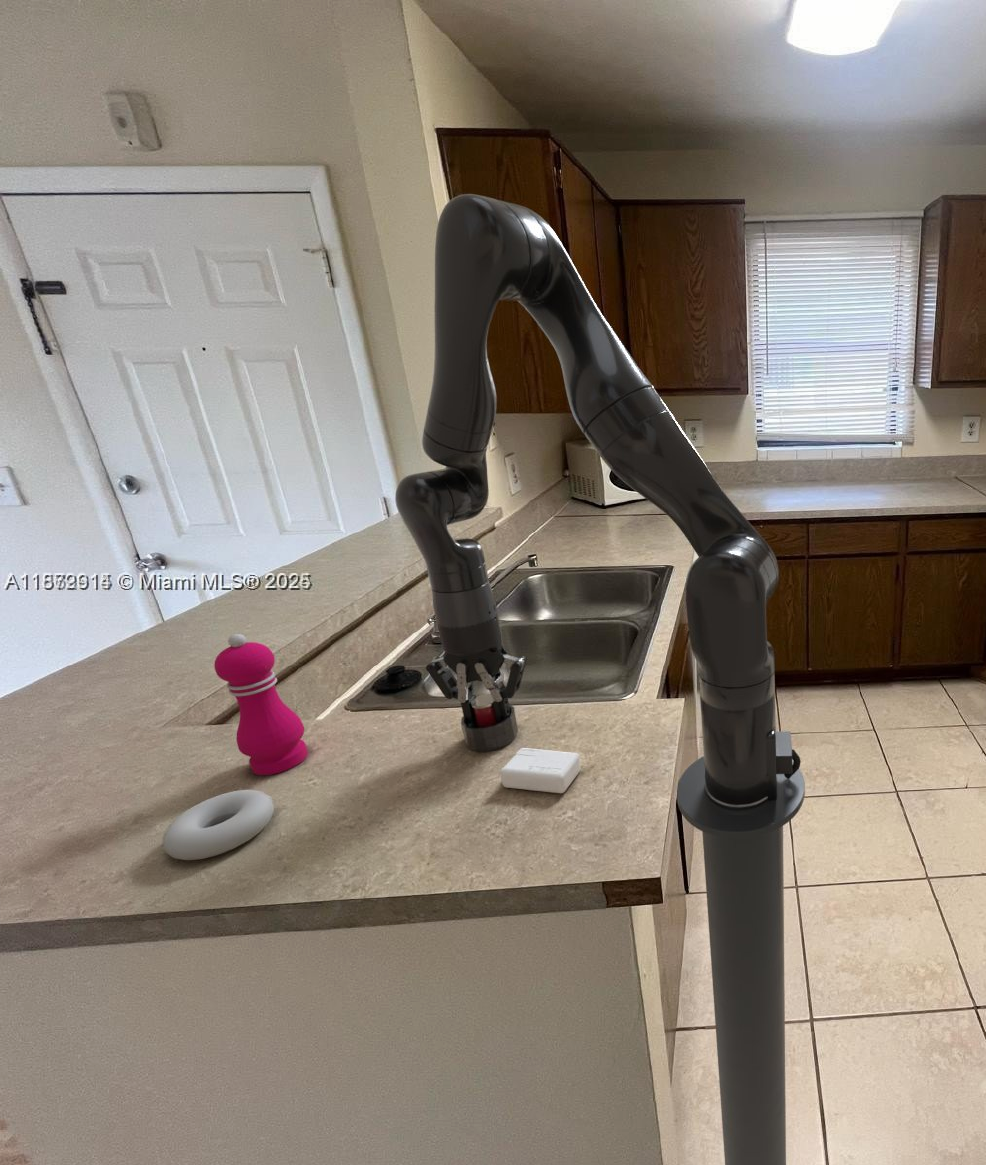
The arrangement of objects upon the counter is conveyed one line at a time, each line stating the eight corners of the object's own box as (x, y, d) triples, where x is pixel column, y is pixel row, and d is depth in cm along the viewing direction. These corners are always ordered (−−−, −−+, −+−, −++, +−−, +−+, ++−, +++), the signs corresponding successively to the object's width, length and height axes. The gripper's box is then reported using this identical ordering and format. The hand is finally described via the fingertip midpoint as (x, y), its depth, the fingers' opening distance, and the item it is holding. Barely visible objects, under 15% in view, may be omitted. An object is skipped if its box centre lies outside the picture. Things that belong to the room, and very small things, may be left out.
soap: (583, 769, 82) (580, 751, 81) (564, 796, 77) (560, 777, 76) (524, 763, 83) (520, 745, 82) (500, 789, 78) (497, 770, 77)
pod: (505, 713, 90) (501, 693, 89) (495, 727, 87) (491, 706, 85) (482, 714, 90) (477, 693, 89) (471, 728, 86) (466, 706, 85)
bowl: (525, 723, 93) (521, 701, 91) (507, 752, 86) (502, 728, 85) (479, 724, 93) (474, 702, 91) (457, 753, 86) (451, 729, 84)
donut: (147, 855, 68) (203, 876, 65) (136, 832, 67) (192, 851, 64) (244, 799, 77) (297, 815, 74) (235, 777, 76) (289, 792, 73)
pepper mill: (322, 743, 88) (282, 621, 81) (294, 774, 82) (247, 644, 75) (268, 749, 87) (222, 625, 80) (235, 781, 80) (182, 649, 74)
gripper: (399, 626, 79) (427, 736, 85) (507, 624, 79) (526, 734, 85) (429, 604, 86) (453, 707, 92) (528, 603, 86) (545, 705, 92)
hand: (488, 719), depth 88 cm, fingers closed on pod, 3 cm apart
